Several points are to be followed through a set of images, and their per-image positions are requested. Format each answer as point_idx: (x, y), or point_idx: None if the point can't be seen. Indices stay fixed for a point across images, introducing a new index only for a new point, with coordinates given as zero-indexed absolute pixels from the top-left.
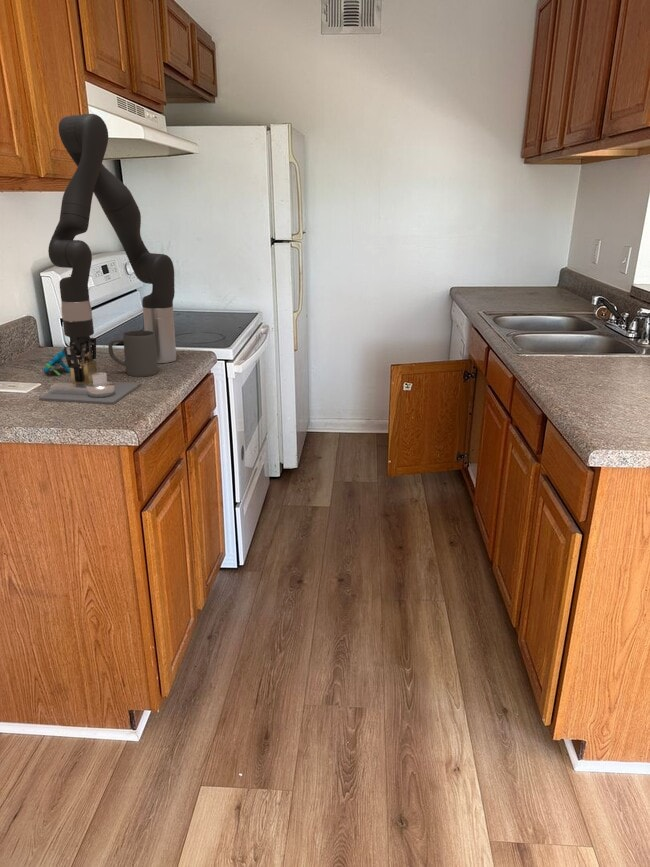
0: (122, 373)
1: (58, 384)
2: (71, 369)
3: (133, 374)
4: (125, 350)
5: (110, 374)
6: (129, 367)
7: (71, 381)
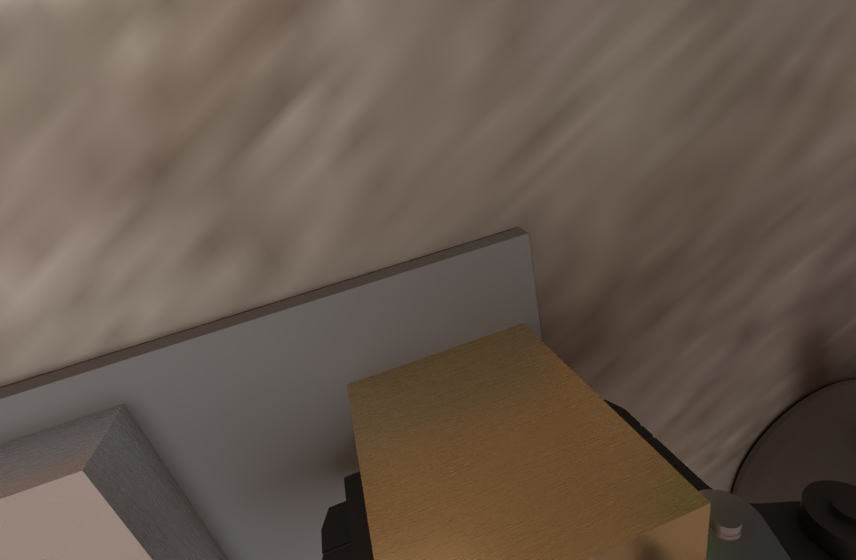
0: (801, 372)
1: (22, 553)
2: (378, 556)
3: (745, 495)
4: None
5: (774, 324)
6: None
7: (460, 272)
